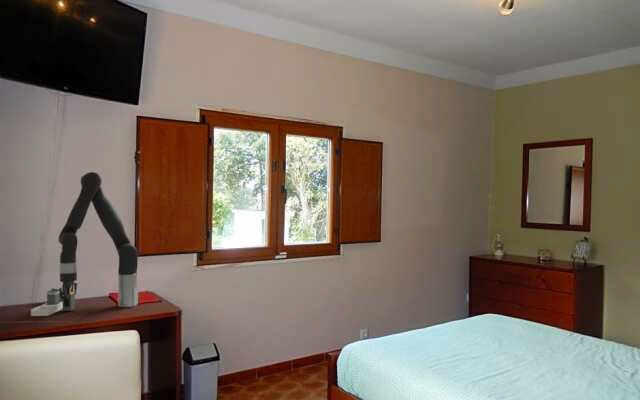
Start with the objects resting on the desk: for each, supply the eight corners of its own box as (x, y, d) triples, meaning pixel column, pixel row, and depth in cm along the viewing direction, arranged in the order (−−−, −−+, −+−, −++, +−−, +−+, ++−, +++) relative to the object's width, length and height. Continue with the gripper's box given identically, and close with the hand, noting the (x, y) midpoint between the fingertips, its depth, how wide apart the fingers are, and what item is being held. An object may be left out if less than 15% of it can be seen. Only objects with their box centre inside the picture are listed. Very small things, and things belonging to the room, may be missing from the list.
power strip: (64, 309, 233) (64, 301, 233) (47, 317, 217) (47, 309, 217) (48, 309, 233) (49, 301, 233) (30, 317, 217) (30, 309, 217)
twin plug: (59, 308, 232) (59, 290, 232) (55, 310, 228) (55, 292, 228) (51, 308, 232) (51, 291, 232) (46, 310, 228) (47, 292, 227)
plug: (74, 308, 229) (74, 291, 229) (71, 310, 225) (70, 292, 225) (66, 308, 229) (66, 291, 228) (62, 310, 224) (62, 293, 224)
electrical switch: (66, 305, 243) (65, 288, 242) (56, 308, 238) (55, 291, 238) (57, 303, 248) (56, 286, 247) (47, 305, 244) (46, 289, 243)
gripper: (69, 273, 220) (69, 308, 220) (82, 269, 234) (82, 301, 234) (53, 274, 219) (53, 309, 219) (67, 269, 233) (68, 302, 234)
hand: (68, 305), depth 227 cm, fingers closed on plug, 4 cm apart
